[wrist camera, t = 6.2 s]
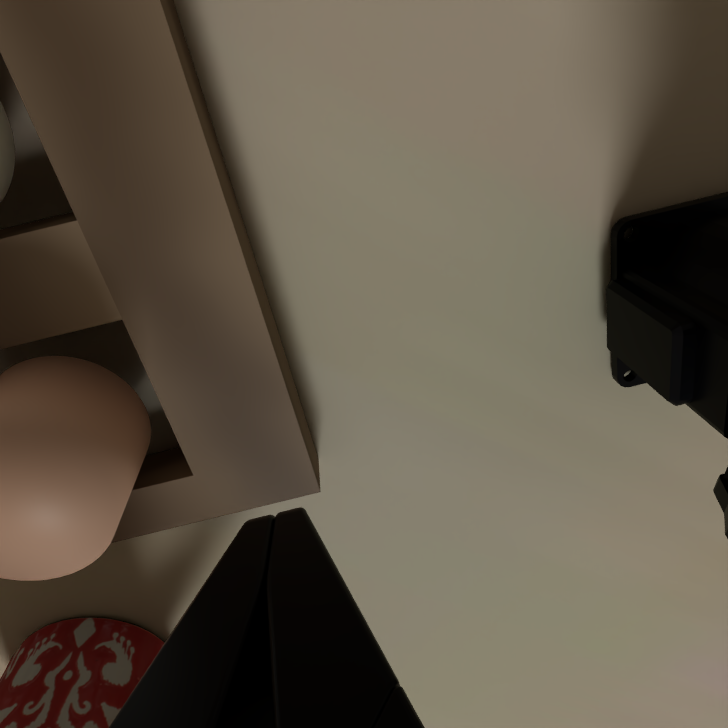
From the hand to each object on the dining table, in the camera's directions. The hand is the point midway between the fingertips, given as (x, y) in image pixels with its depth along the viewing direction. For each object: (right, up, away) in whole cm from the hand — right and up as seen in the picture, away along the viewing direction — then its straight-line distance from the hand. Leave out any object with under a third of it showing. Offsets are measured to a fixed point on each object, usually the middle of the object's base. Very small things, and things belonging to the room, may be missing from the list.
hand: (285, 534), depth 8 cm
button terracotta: (-8, 0, +10) cm, 13 cm away
